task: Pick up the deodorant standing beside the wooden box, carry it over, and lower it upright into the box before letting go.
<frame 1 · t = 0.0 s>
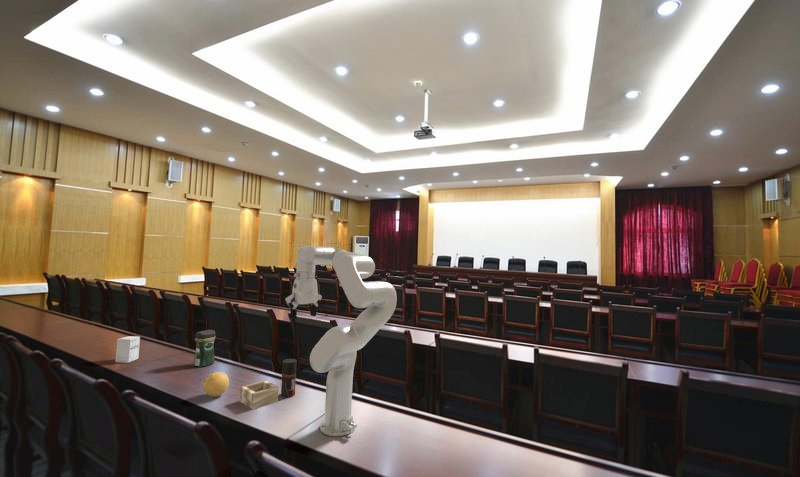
hand: (303, 317, 142), 37 cm above the table, tool pointing down, fingers open, 9 cm apart
coffee jar: (203, 365, 187), on the table
deodorant: (287, 395, 152), on the table
stress ball: (215, 396, 148), on the table
wooden box: (258, 401, 145), on the table
supplement box: (127, 361, 189), on the table
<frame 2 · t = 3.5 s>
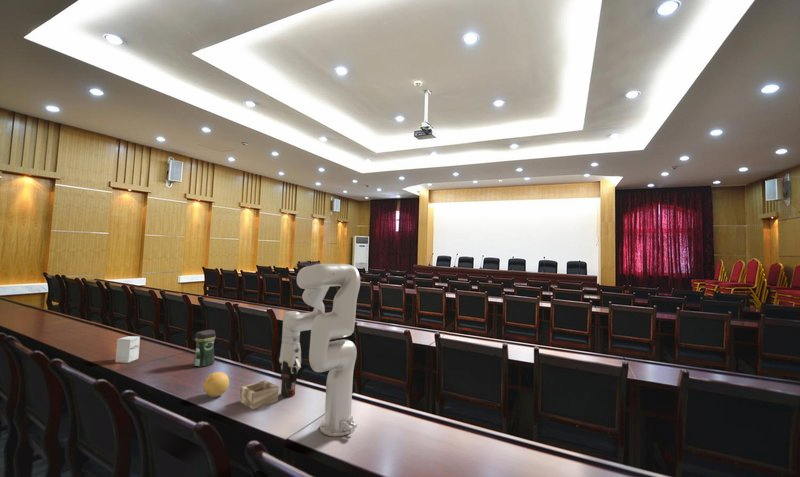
hand: (288, 379, 153), 7 cm above the table, tool pointing down, fingers closed on deodorant, 6 cm apart
deodorant: (287, 395, 152), on the table, touching gripper
everything else where it was.
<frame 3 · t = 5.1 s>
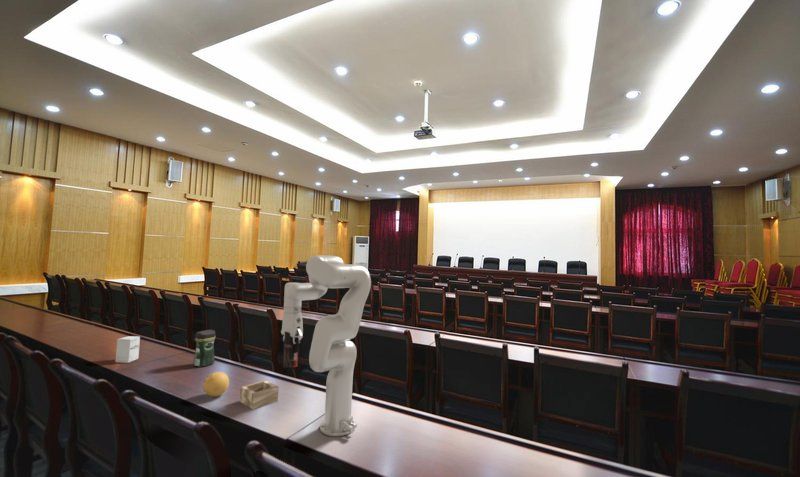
hand: (290, 350, 153), 20 cm above the table, tool pointing down, fingers closed on deodorant, 6 cm apart
deodorant: (290, 366, 152), point 13 cm above the table, touching gripper
everything else where it was.
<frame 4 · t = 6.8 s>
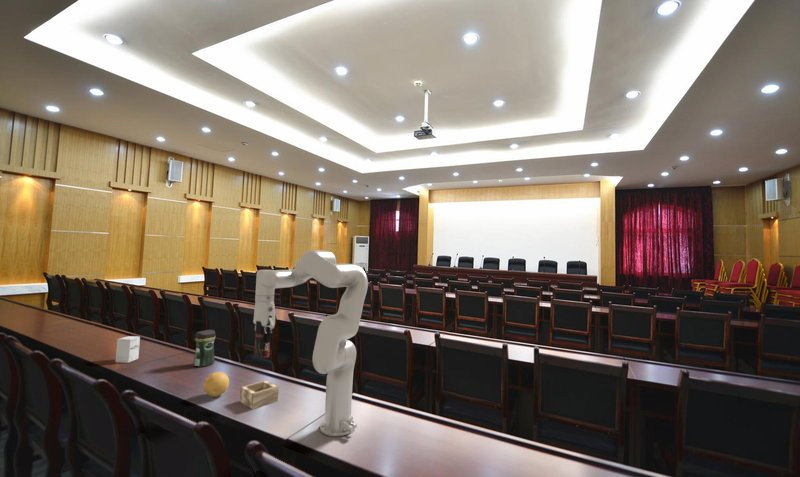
hand: (262, 340, 146), 25 cm above the table, tool pointing down, fingers closed on deodorant, 6 cm apart
deodorant: (261, 356, 146), point 19 cm above the table, touching gripper
everything else where it was.
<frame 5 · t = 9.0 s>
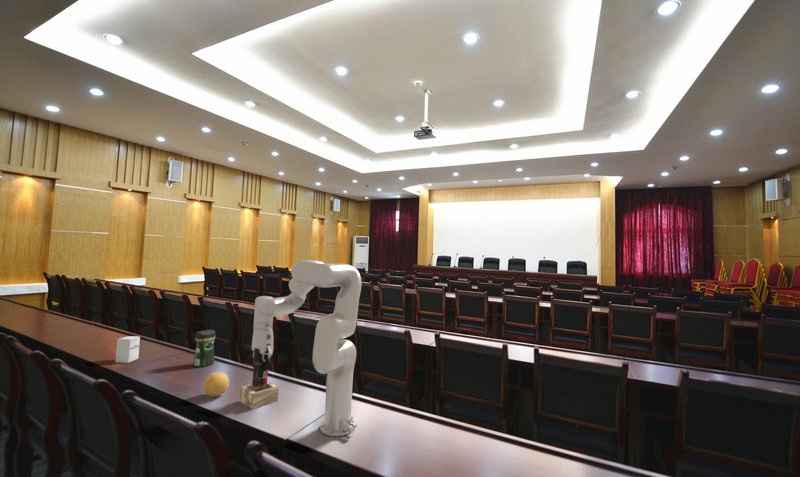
hand: (260, 367, 146), 14 cm above the table, tool pointing down, fingers closed on deodorant, 6 cm apart
deodorant: (259, 384, 145), point 7 cm above the table, touching gripper
everything else where it was.
when the fingers open (9 cm above the table, at t = 10.4 s): deodorant drops 2 cm, resting on wooden box.
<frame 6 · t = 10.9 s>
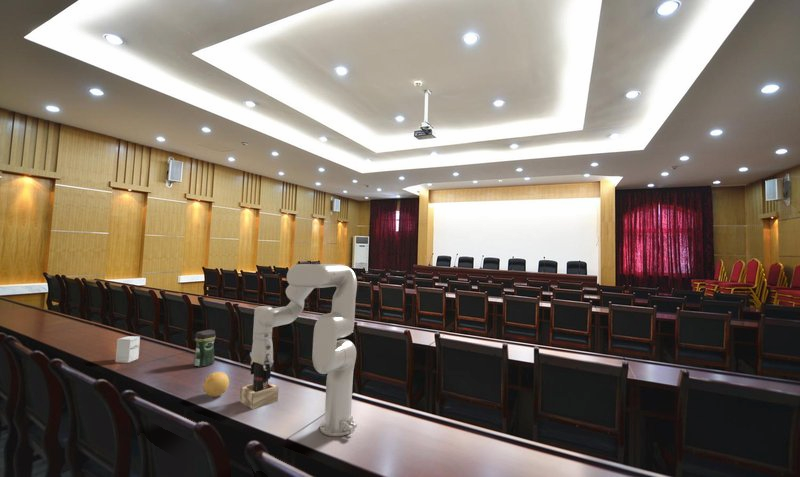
hand: (260, 376, 145), 10 cm above the table, tool pointing down, fingers open, 9 cm apart
deodorant: (259, 399, 145), point 1 cm above the table, touching wooden box
everything else where it was.
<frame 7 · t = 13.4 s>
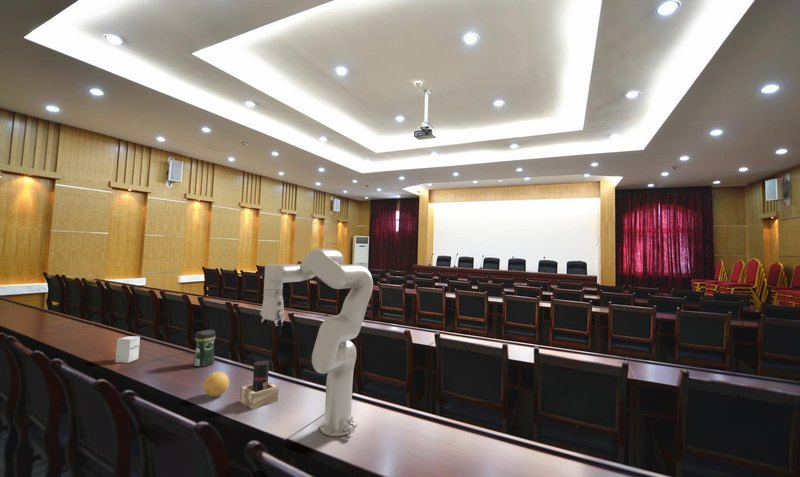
hand: (271, 333, 147), 28 cm above the table, tool pointing down, fingers open, 9 cm apart
nothing on the table moved.
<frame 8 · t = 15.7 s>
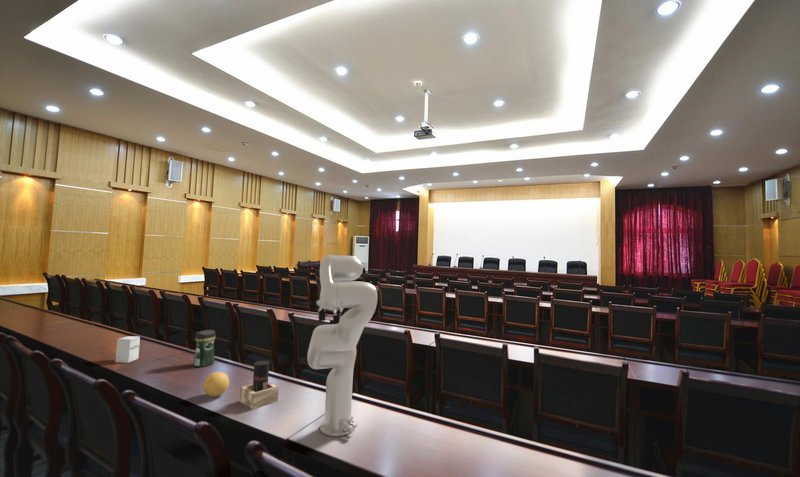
hand: (328, 322, 150), 33 cm above the table, tool pointing down, fingers open, 9 cm apart
nothing on the table moved.
at the end: deodorant 0.3 cm off-centre on the wooden box, point 0.8 cm above the wooden box's base; deodorant tilted 0°; the gripper is holding nothing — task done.
